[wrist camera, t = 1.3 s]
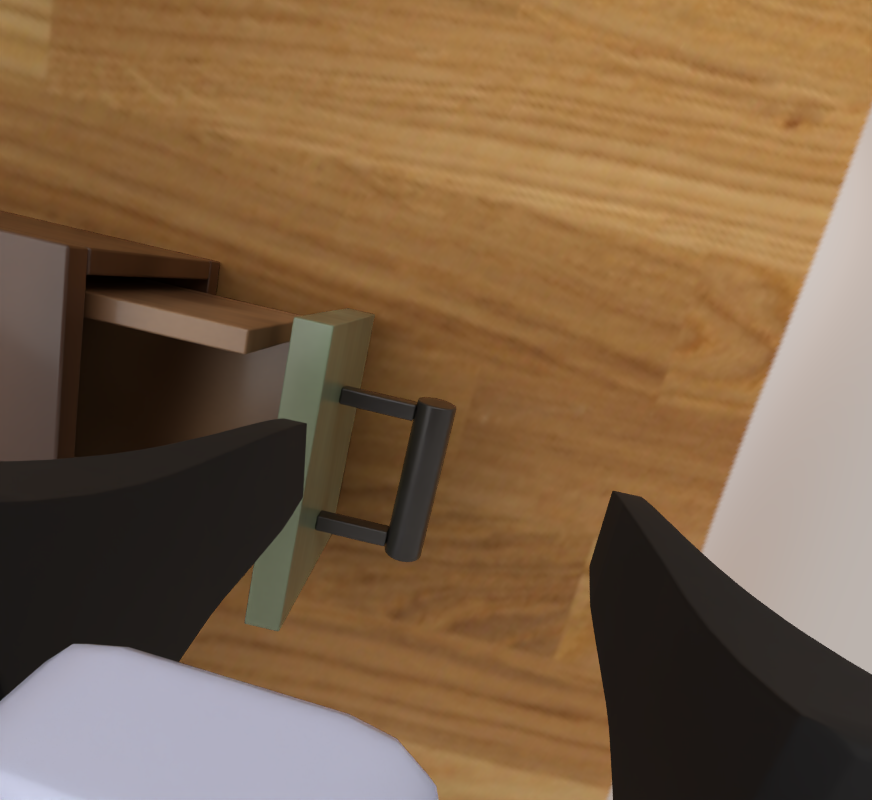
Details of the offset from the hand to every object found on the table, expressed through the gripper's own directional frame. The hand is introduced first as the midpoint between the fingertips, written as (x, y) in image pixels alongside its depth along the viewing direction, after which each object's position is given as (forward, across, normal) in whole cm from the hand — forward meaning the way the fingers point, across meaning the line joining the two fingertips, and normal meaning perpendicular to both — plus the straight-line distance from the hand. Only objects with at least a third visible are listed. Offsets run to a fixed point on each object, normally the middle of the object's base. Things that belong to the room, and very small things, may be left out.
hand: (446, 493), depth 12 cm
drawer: (+9, +10, +3) cm, 13 cm away
